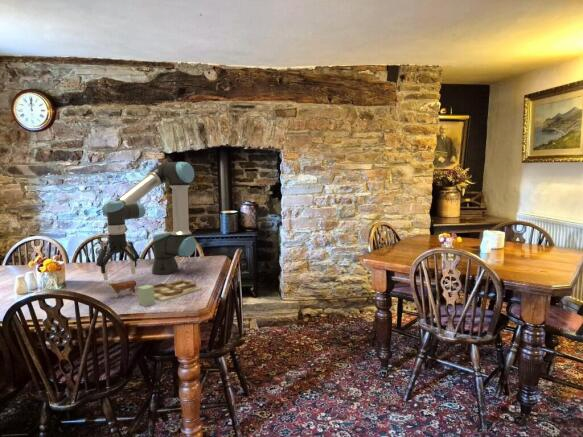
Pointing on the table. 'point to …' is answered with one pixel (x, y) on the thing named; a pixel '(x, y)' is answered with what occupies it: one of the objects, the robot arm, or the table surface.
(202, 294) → the table surface
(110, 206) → the robot arm
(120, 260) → the table surface
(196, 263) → the table surface
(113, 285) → the bull figurine
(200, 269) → the table surface
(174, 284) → the beech board
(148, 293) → the sage-green tail block
